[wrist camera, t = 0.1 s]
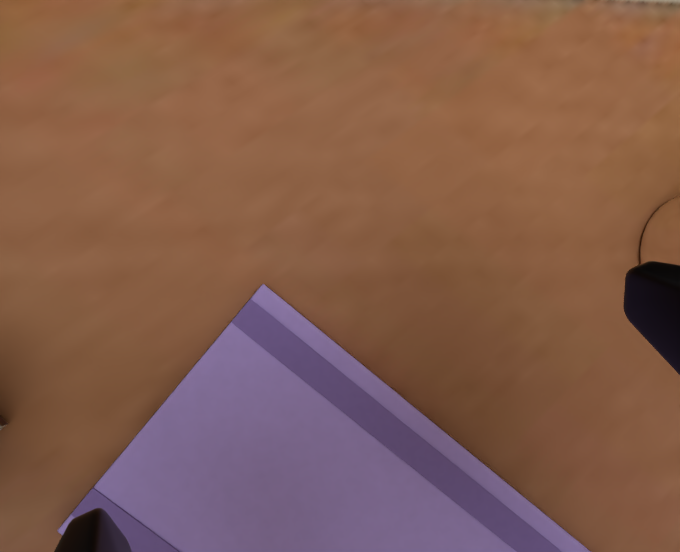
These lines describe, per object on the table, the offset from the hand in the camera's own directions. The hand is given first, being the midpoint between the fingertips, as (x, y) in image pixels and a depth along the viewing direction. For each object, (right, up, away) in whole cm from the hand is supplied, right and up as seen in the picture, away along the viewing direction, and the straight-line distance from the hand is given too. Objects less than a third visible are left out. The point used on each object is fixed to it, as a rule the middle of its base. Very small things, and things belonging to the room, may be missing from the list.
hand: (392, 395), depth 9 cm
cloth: (0, -9, +15) cm, 17 cm away
